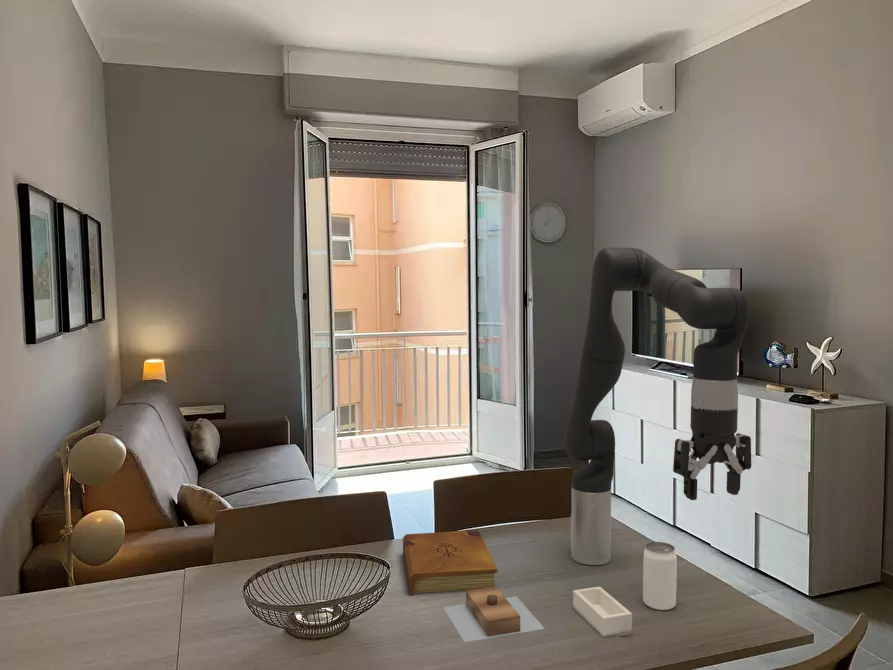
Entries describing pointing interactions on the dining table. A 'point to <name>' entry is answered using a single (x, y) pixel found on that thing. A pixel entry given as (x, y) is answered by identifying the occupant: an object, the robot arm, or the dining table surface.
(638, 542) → the dining table surface
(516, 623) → the lid
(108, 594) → the dining table surface
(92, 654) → the dining table surface
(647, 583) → the can
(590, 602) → the dish
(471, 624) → the mat
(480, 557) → the diary
